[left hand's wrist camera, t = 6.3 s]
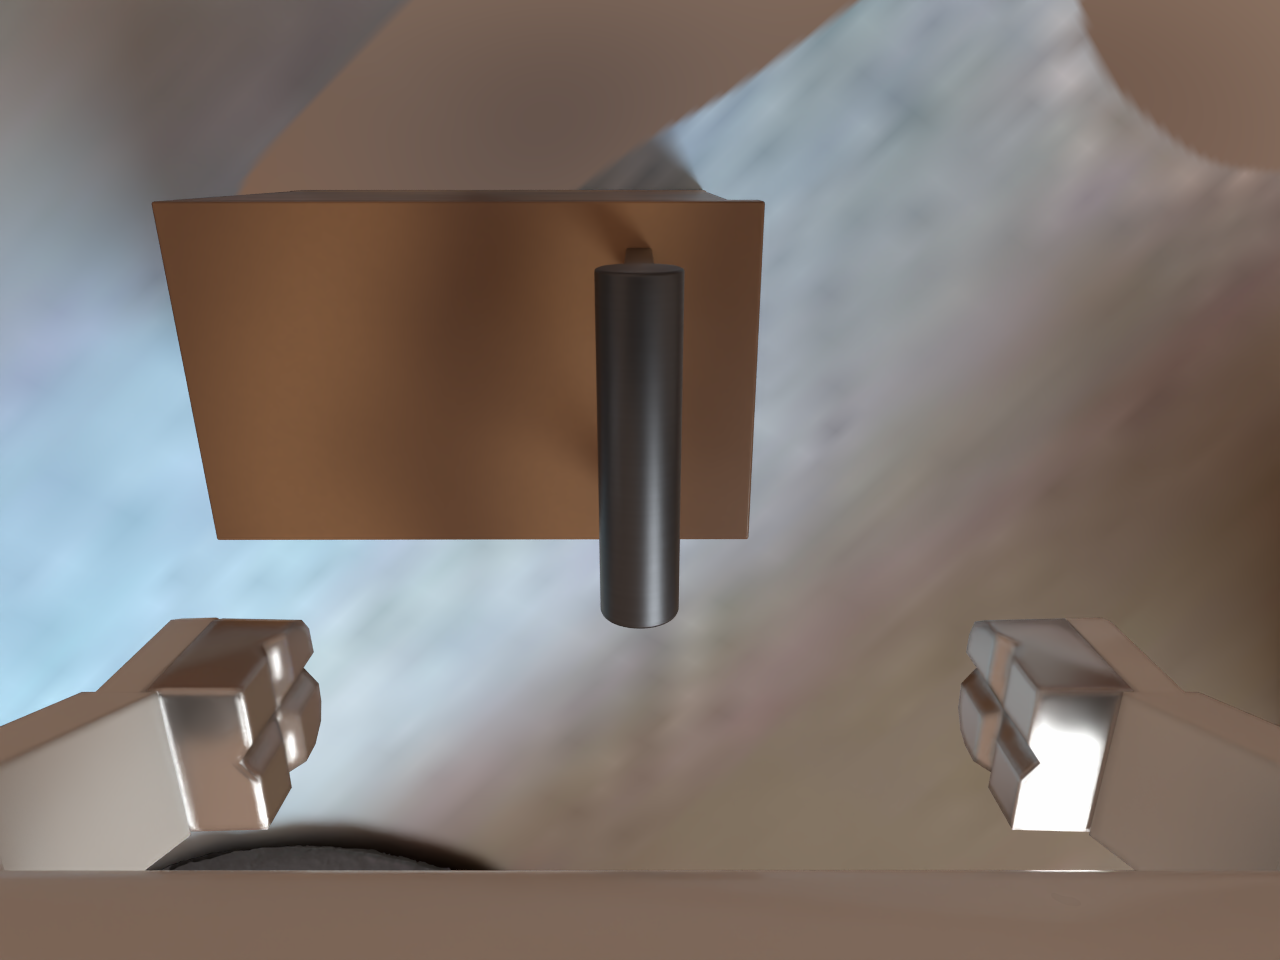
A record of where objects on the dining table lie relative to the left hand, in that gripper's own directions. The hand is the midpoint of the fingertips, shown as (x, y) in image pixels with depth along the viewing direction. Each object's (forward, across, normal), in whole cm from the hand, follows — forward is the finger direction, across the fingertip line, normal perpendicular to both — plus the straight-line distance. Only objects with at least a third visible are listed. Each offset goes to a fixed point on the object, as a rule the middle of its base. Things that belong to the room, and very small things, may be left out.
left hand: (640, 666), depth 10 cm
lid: (+15, +5, 0) cm, 16 cm away
